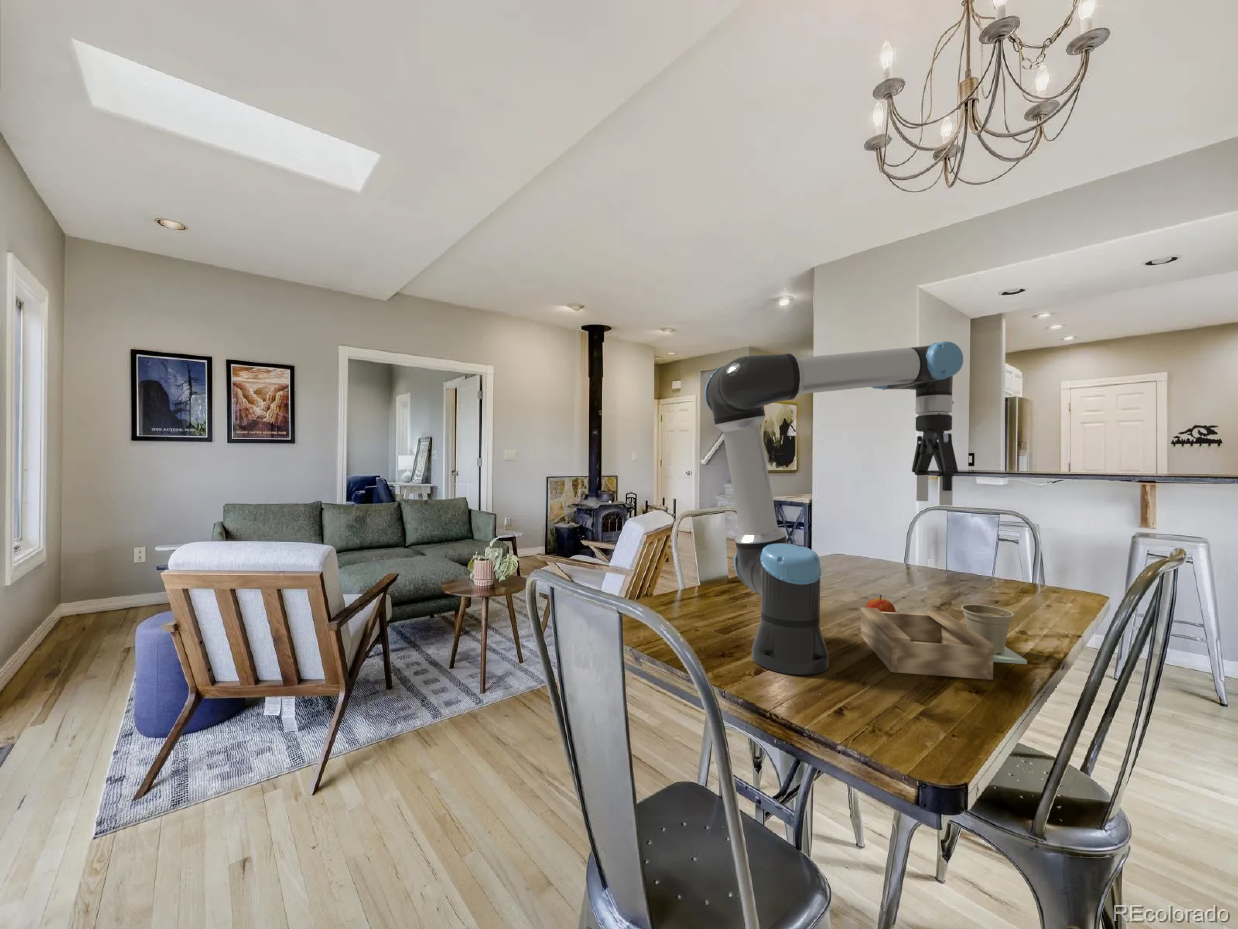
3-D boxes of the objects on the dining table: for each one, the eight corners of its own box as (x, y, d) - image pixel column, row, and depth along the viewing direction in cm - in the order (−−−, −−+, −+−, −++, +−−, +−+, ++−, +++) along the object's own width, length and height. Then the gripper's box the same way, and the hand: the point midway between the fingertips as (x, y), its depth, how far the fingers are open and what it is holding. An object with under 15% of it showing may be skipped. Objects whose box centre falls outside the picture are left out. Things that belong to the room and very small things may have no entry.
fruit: (868, 620, 137) (868, 589, 137) (897, 625, 133) (898, 594, 133) (862, 627, 131) (862, 595, 131) (893, 632, 127) (893, 599, 127)
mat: (973, 660, 109) (973, 656, 109) (951, 644, 119) (951, 640, 119) (1026, 664, 107) (1026, 660, 107) (1000, 647, 117) (1000, 643, 117)
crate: (891, 672, 103) (891, 637, 103) (860, 635, 124) (860, 607, 124) (992, 679, 99) (993, 644, 99) (943, 641, 121) (943, 611, 121)
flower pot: (1023, 659, 108) (1023, 618, 108) (972, 656, 109) (973, 615, 109) (999, 644, 117) (1000, 605, 117) (953, 641, 119) (953, 603, 119)
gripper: (976, 409, 112) (975, 507, 112) (929, 418, 136) (928, 499, 137) (938, 409, 113) (937, 507, 113) (898, 419, 138) (897, 499, 138)
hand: (932, 503), depth 125 cm, fingers open, 13 cm apart
